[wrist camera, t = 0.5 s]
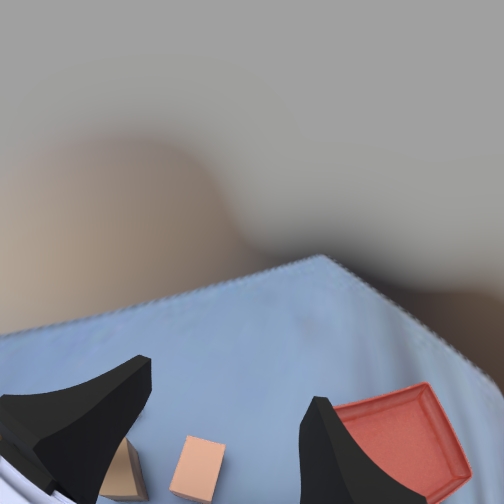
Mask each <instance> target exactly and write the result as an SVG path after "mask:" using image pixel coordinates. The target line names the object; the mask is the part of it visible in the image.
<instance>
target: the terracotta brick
mask: <svg viewBox="0 0 504 504" xmlns="http://www.w3.org/2000/svg"><path fill="white" fill-rule="evenodd" d="M225 447H226V445H223V444H219V443H215V442H211V441H207V440H203V439H200V438H196V437H193V436H189V435H188V436H187V439H186V442H185V445H184V448H183V451H182V453H181V456H180V459H179V462H178V465H177V468H176V471H175V474H174V476H173V479H172V482H171V485H170V488H169V490H170V491H171V492H172V493H173V494H174V495H176V496H179V497H182V498H186V499H189V500H193V501H197V502H200V503H204V504H211V501H212V497H213V494H214V490H215V486H216V483H217V479H218V475H219V472H220V468H221V464H222V460H223V456H224V452H225Z"/></svg>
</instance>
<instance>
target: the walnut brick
mask: <svg viewBox="0 0 504 504" xmlns="http://www.w3.org/2000/svg"><path fill="white" fill-rule="evenodd" d="M99 495H101V496H103V497H106V498H109V499H111V500H114V501H149V499H148V495H147V492H146V488H145V484H144V480H143V476H142V472H141V467H140V463H139V458H138V453H137V451H136V449H135V448H134V447H133V446H132V444H131V443H130V442H129V441H128V439H127V438H126V437H124V439H123V440H122V442H121V444H120V445H119V447H118V449H117V451H116V453H115V455H114V457H113V460H112V462H111V464H110V466H109V469H108V471H107V473H106V476H105V478H104V481H103V483H102V486H101V489H100V492H99Z"/></svg>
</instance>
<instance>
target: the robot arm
mask: <svg viewBox="0 0 504 504" xmlns="http://www.w3.org/2000/svg"><path fill="white" fill-rule="evenodd" d="M151 391H152V380H151V359H150V358H147V357H145V356H142V355H137V356H135V357H134V358H132V359H130V360H128V361H127V362H125V363H123V364H121V365H119V366H118V367H116V368H114V369H112V370H110V371H108V372H106V373H104V374H102V375H100V376H98V377H96V378H94V379H91V380H89V381H87V382H85V383H82V384H79V385H76V386H73V387H70V388H66V389H62V390H58V391H53V392H48V393H42V394H32V395H5V394H3V395H2V396H1V397H0V435H1V436H2V439H1V440H0V504H96V501H97V498H98V495H99V492H100V489H101V486H102V483H103V481H104V478H105V476H106V473H107V471H108V469H109V466H110V464H111V462H112V460H113V457H114V455H115V453H116V451H117V449H118V447H119V445H120V444H121V442H122V440H123V439H124V437H125V436H126V434H127V433H128V431H129V429H130V428H131V426H132V425H133V423H134V422H135V420H136V419H137V417H138V416H139V414H140V413H141V411H142V410H143V408H144V406H145V404H146V402H147V400H148V398H149V396H150V393H151ZM299 458H300V473H301V498H300V504H428V503H427V500H426V497H425V496H423V495H421V494H419V493H417V492H415V491H413V490H411V489H409V488H407V487H406V486H404V485H402V484H401V483H399V482H398V481H396V480H395V479H393V478H392V477H391V476H389V475H388V474H387V473H386V472H385V471H383V470H382V469H381V468H380V467H379V466H378V465H377V464H375V463H374V462H373V461H372V460H371V459H370V457H369V456H368V455H367V454H366V453H365V452H364V451H363V450H362V449H361V448H360V446H359V445H358V444H357V442H356V441H355V440H354V439H353V437H352V436H351V434H350V433H349V432H348V430H347V429H346V427H345V426H344V424H343V423H342V421H341V419H340V418H339V416H338V415H337V413H336V411H335V410H334V408H333V406H332V405H331V403H330V401H329V400H328V398H326V397H317V396H314V397H313V399H312V401H311V403H310V406H309V408H308V410H307V412H306V414H305V416H304V418H303V420H302V422H301V424H300V430H299Z"/></svg>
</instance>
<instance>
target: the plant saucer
mask: <svg viewBox="0 0 504 504" xmlns="http://www.w3.org/2000/svg"><path fill="white" fill-rule="evenodd" d="M333 408H334V410H335V411H336V413H337V415H338V416H339V418H340V419H341V421H342V423H343V424H344V426H345V427H346V429H347V430H348V432H349V433H350V434H351V436H352V437H353V439H354V440H355V441H356V442H357V444H358V445H359V446H360V448H361V449H362V450H363V451H364V452H365V453H366V454H367V455H368V456H369V457H370V459H371V460H372V461H373V462H374V463H375V464H377V465H378V466H379V467H380V468H381V469H382V470H383V471H385V472H386V473H387V474H388V475H389V476H391V477H392V478H393V479H395V480H396V481H398V482H399V483H401V484H402V485H404V486H406V487H407V488H409V489H411V490H413V491H415V492H417V493H419V494H421V495H423V496H425V497H426V500H427V503H428V504H439V503H440V502H442V501H443V500H445V499H446V498H447V497H449V496H450V495H452V494H453V493H454V492H455V491H457V490H458V489H459V488H461V487H462V486H463V485H464V484H466V483H467V482H468V481H469V480H470V479H471V478H472V475H473V472H472V469H471V467H470V465H469V462H468V460H467V457H466V455H465V453H464V451H463V448H462V446H461V444H460V442H459V440H458V438H457V435H456V433H455V431H454V429H453V427H452V425H451V423H450V421H449V419H448V417H447V415H446V413H445V411H444V409H443V407H442V406H441V404H440V402H439V400H438V398H437V396H436V394H435V393H434V391H433V389H432V387H431V385H430V384H429V383H428V382H422V383H419V384H416V385H413V386H410V387H407V388H404V389H400V390H397V391H393V392H390V393H387V394H383V395H380V396H376V397H373V398H369V399H365V400H361V401H357V402H352V403H348V404H343V405H338V406H333Z"/></svg>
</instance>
